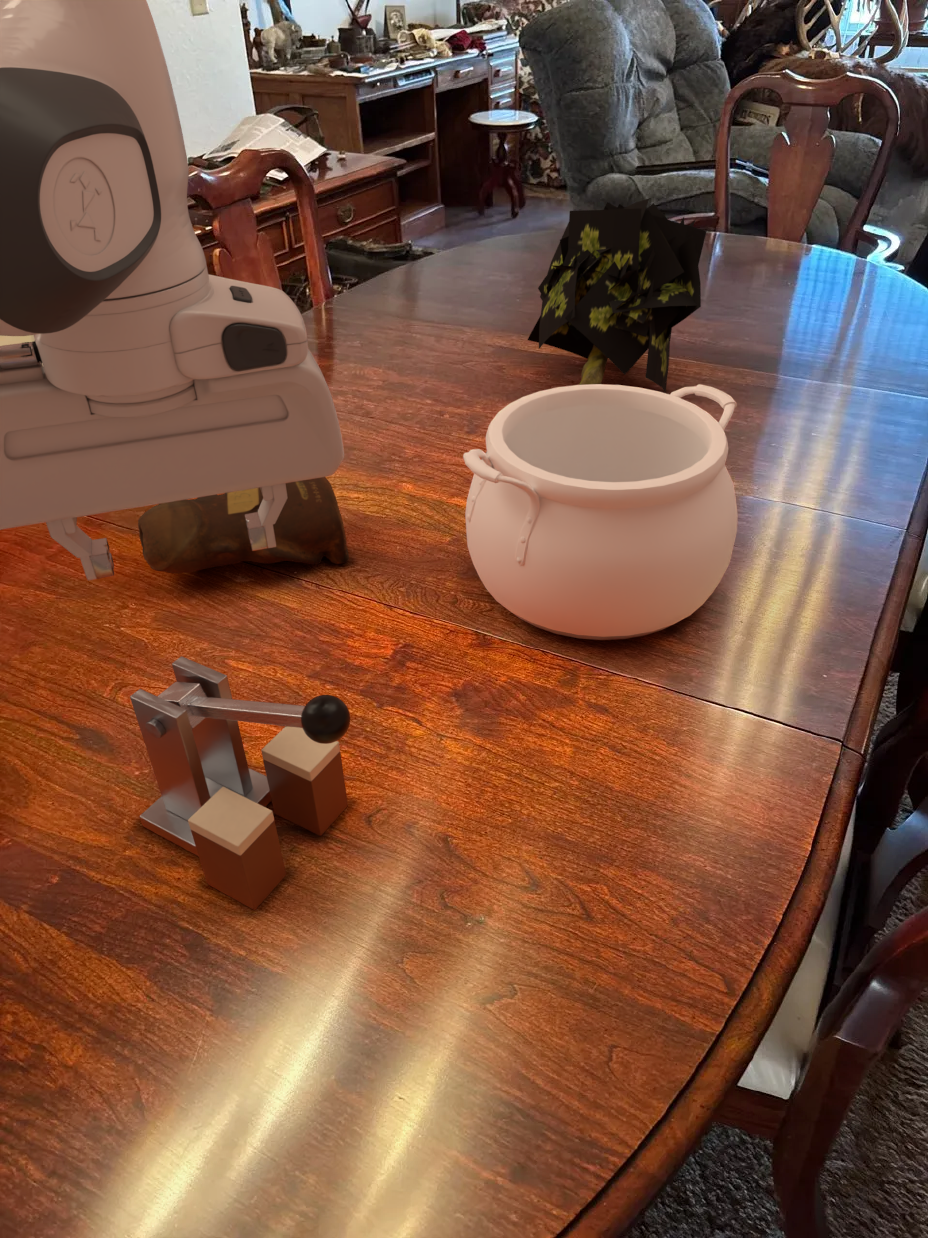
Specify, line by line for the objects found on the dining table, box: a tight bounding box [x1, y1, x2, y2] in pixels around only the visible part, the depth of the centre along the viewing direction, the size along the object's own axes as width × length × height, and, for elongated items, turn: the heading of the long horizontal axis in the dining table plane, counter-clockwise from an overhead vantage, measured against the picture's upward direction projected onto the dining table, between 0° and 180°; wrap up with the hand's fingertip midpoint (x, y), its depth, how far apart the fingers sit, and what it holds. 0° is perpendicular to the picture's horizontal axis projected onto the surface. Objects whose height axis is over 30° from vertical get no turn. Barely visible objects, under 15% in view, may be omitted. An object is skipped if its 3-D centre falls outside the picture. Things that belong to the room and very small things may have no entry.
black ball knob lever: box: [156, 681, 351, 744], centre depth 61 cm, size 17×3×3 cm, turn 59°
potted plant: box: [527, 197, 708, 394], centre depth 129 cm, size 21×22×30 cm
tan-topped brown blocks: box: [188, 726, 349, 911], centre depth 67 cm, size 11×4×7 cm, turn 149°
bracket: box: [129, 655, 272, 858], centre depth 68 cm, size 7×8×13 cm
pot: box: [462, 383, 739, 641], centre depth 90 cm, size 29×26×17 cm
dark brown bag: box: [137, 477, 350, 574], centre depth 97 cm, size 12×20×8 cm, turn 110°
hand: (183, 558), depth 55 cm, fingers open, 8 cm apart
